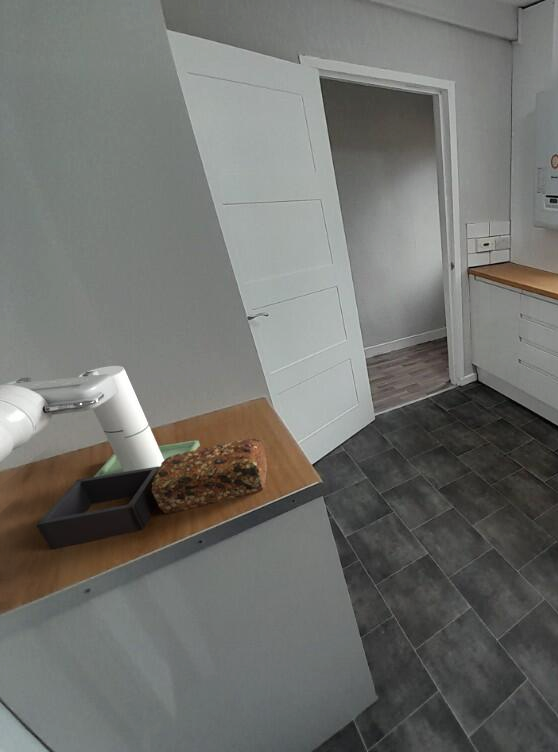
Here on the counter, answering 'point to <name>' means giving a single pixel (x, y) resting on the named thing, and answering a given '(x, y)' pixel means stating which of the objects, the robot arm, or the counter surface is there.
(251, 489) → the bread
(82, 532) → the basket
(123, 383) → the cylindrical container
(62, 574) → the counter surface
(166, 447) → the tray
